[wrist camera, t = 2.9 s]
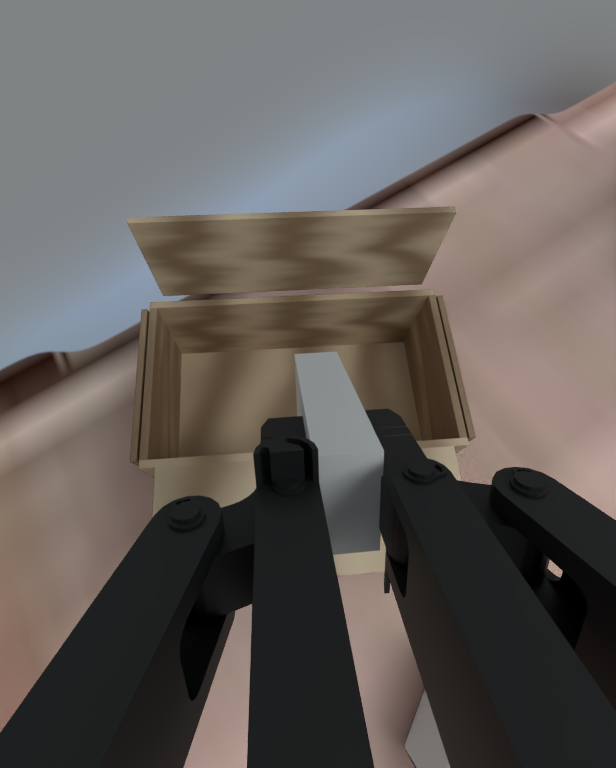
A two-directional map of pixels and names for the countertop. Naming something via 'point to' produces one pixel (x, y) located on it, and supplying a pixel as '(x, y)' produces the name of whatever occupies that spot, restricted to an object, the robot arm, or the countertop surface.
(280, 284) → the flap
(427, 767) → the medicine bottle
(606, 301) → the countertop surface
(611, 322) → the countertop surface
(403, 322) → the carton
